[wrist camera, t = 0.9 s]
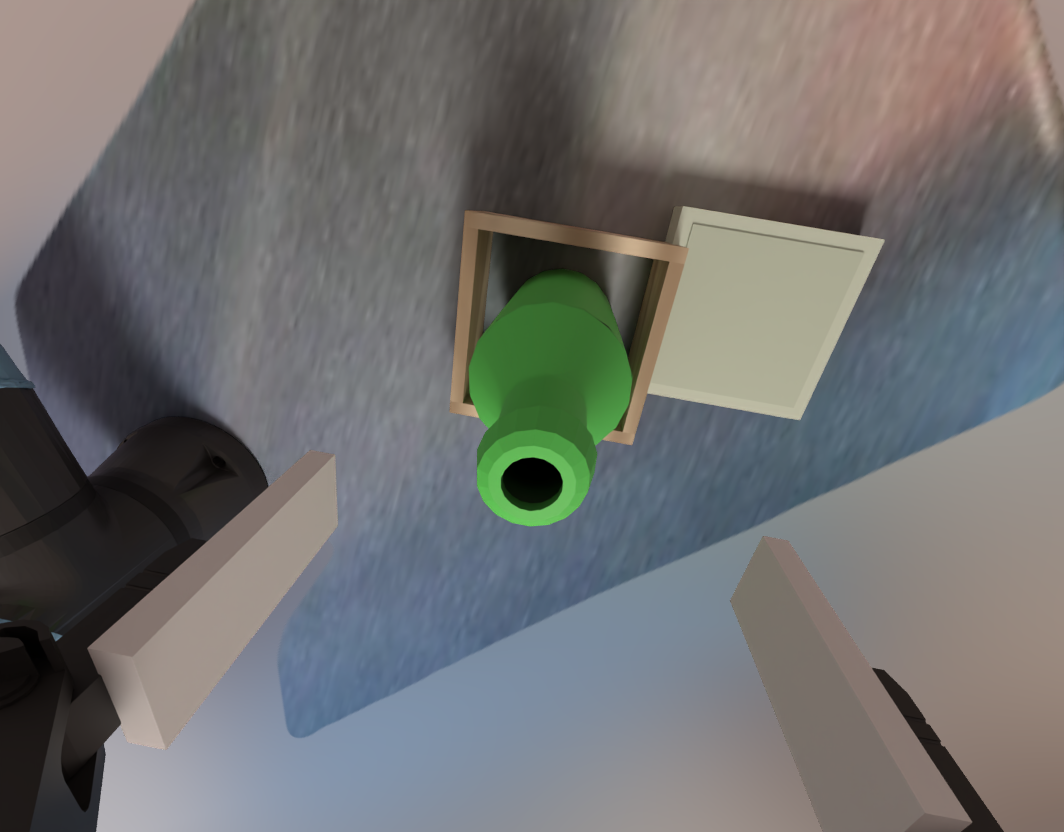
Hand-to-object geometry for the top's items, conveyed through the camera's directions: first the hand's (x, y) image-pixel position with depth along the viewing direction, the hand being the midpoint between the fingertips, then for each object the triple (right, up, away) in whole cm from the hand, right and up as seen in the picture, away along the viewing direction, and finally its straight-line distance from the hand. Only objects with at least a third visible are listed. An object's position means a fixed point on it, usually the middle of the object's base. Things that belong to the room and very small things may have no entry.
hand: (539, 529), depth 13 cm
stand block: (+16, +12, +22) cm, 30 cm away
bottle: (+2, +12, +24) cm, 27 cm away
